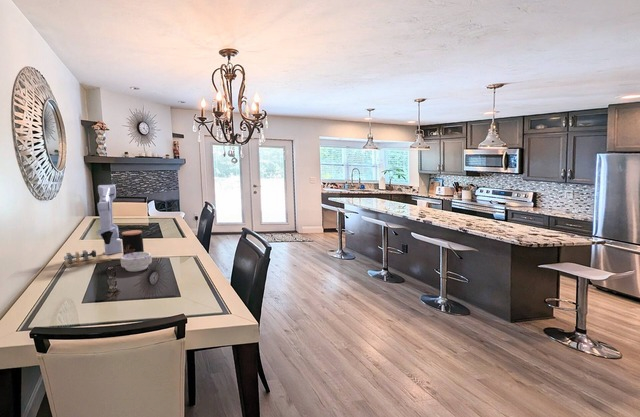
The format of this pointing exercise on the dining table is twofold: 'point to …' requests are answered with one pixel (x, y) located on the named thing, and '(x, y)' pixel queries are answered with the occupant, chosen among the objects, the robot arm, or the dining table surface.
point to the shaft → (82, 255)
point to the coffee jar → (132, 241)
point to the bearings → (77, 257)
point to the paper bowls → (136, 261)
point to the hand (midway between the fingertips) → (107, 244)
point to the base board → (91, 261)
